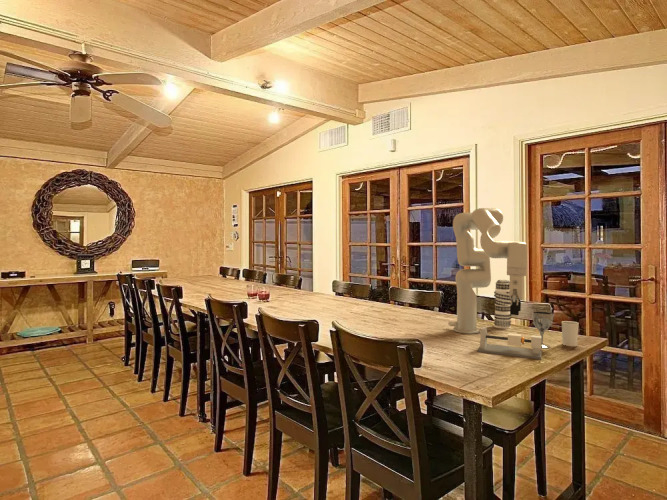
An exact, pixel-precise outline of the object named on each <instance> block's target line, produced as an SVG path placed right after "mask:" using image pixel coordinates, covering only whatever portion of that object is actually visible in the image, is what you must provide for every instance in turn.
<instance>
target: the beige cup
mask: <svg viewBox="0 0 667 500" xmlns="http://www.w3.org/2000/svg"><path fill="white" fill-rule="evenodd" d="M578 335H579V322H577V321H571V320H570V321H568V320H564V321H561V337H562V338H561V341H562V342H561V344H562V345H563V346H565V345H566V347H577V346H578V338H579V336H578Z"/></svg>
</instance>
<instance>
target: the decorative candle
mask: <svg viewBox="0 0 667 500" xmlns="http://www.w3.org/2000/svg"><path fill="white" fill-rule="evenodd" d="M509 282H510V280H508V279H498V280H497V281H496V282H495V288H494V290H495V291H493V293H494V294H493V297H494V299H493V300H494V302H493V303H494V307H495V308H494V314H493V315H494V316H493V317H494V319H493V321H494V322H493V324H494V325H493V326H494V328H496V329H503V330H505V329H507V330H508V329H511V328H512V327H511V326H512V320H511V319H512V317H511V316H512V315H511V314H510V305H511V299H510V294H509Z"/></svg>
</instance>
